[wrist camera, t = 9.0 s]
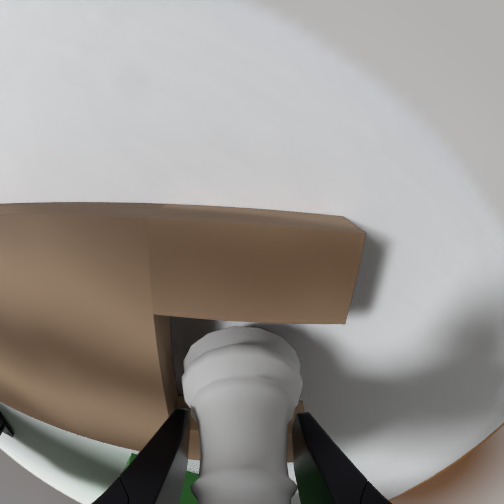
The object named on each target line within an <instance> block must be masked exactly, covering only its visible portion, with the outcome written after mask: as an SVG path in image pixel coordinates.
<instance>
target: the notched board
mask: <svg viewBox="0 0 504 504" xmlns="http://www.w3.org/2000/svg"><path fill="white" fill-rule="evenodd" d="M365 235H366V233H365V232H364V231H362V230H361V229H360V228H358V227H357V226H356V225H354V224H353V223H352V222H350V221H349V220H348V219H346V218H345V217H342V216H333V215H323V214H312V213H301V212H290V211H278V210H265V209H251V208H236V207H219V206H201V205H180V204H153V203H108V202H53V203H12V204H0V402H2V403H4V404H6V405H8V406H10V407H12V408H14V409H16V410H18V411H20V412H22V413H24V414H26V415H29V416H31V417H33V418H35V419H38V420H40V421H42V422H45V423H47V424H50V425H52V426H55V427H58V428H60V429H63V430H66V431H69V432H72V433H75V434H77V435H81V436H84V437H87V438H90V439H93V440H97V441H100V442H104V443H108V444H111V445H115V446H119V447H123V448H128V449H132V450H137V451H141V450H142V449H143V448H144V446H145V445H146V444H147V443H148V442H149V440H150V439H151V438H152V437H153V436H154V434H155V433H156V432H157V431H158V429H159V428H160V427H161V426H162V425H163V423H164V422H165V421H166V420H167V418H168V417H169V416H170V415H171V413H172V412H173V411H174V410H175V409H176V408H185V409H188V410H189V415H190V423H191V428H190V440H189V452H188V459H193V460H200V459H201V457H200V442H199V430H198V425H197V422H196V421H195V420H194V418H193V417H192V416H191V409H190V407H189V406H188V404H187V403H186V402H185V399H184V396H178V394H177V386H176V378H175V370H174V361H173V351H172V340H171V329H170V316H175V317H186V318H197V319H210V320H224V321H241V322H261V323H290V324H345V322H346V319H347V315H348V311H349V307H350V303H351V299H352V295H353V291H354V287H355V283H356V278H357V274H358V270H359V265H360V260H361V255H362V251H363V245H364V240H365ZM301 412H304V407H303V402H302V401H299V402H298V405H297V406H296V407H295V410H294V414H293V417H292V419H291V420H290V421H289V422H288V426H287V457H286V460H287V462H294V461H293V444H292V425H293V422H294V419H295V416H296V414H297V413H301Z"/></svg>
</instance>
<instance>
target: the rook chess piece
mask: <svg viewBox="0 0 504 504" xmlns="http://www.w3.org/2000/svg"><path fill="white" fill-rule="evenodd" d="M300 368H301V365H300V361H299V358H298V355H297V352H296V350H295V349H294V348H293V347H292V346H291V345H290V344H289V343H288V342H287V341H286V340H285V339H283V338H282V337H281V336H279V335H276V334H274V333H271V332H268V331H266V330H263V329H261V328H256V327H236V326H234V327H229V328H226V329H222V330H218V331H214V332H211V333H208V334H207V335H205V336H204V337H202V338H201V339H200V340H198V341H197V342H196V343H194V344H193V345H191V347H190V349H189V351H188V353H187V355H186V357H185V359H184V374H183V376H182V385H183V394H184V399H185V402H186V403H187V404H188V406H189V407H190V409H191V416H192V417H193V418H194V420H195V421H196V422H197V425H198V430H199V442H200V457H201V459H200V469H199V479H198V480H196V481H195V482H194V483H193V484H192V485H191V486H190V488H191V492H192V494H193V495H194V496H195V497H196V499H197V500H198V504H291V498H292V497H293V495H294V494H295V492H296V491H297V489H298V487H297V485H296V484H295V482H294V481H293V480H291V479H290V478H289V475H288V468H287V460H286V457H287V426H288V422H289V421H290V420H291V419H292V417H293V414H294V410H295V407H296V406H297V405H298V402H299V399H300V395H301V392H302V386H303V381H302V378H301V375H300Z"/></svg>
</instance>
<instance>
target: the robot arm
mask: <svg viewBox="0 0 504 504" xmlns="http://www.w3.org/2000/svg"><path fill="white" fill-rule="evenodd" d="M190 428H191V423H190V415H189V410H188V409H185V408H176V409H175V410H174V411H173V412H172V413H171V415H170V416H169V417H168V418H167V420H166V421H165V422H164V423H163V425H162V426H161V427H160V428H159V429H158V431H157V432H156V433H155V434H154V436H153V437H152V438H151V439H150V440H149V442H148V443H147V444H146V445H145V446H144V448H143V449H142V450H141V451H140V452H139V454H138V455H137V456H136V457H135V458H134V459H133V461H132V462H131V463H130V464H129V465H128V467H127V468H126V469H125V470H124V471H123V472H122V473H121V475H120V477H118V478H117V479H116V480H115V481H114V483H113V484H112V485H111V486H110V487H109V488H108V489H107V490H106V491H105V492H104V493H103V494H102V495H101V496H100V497H99V498H98V499H96V500H95V501H94V502H93V503H92V504H179V502H180V497H181V493H182V488H183V483H184V479H185V474H186V470H187V463H188V452H189V440H190ZM2 432H4V433H5V434H7V435H9V436H11V437H13V436H14V432H13V431H12V430H11V428H10V427H9V426H8V424H7V423H6V421H5V420H4V419H3V417H2V416H1V414H0V435H1V433H2ZM292 444H293V461H294V471H295V477H296V482H297V487H298V492H299V497H300V502H301V504H392V503H391V502H390V501H388V500H387V499H386V498H385V497H384V496H383V495H382V494H381V493H380V492H379V491H378V490H377V489H376V488H375V487H374V486H373V485H372V484H371V483H370V482H369V481H367V479H366V478H365V477H364V475H363V474H362V473H361V472H360V471H359V470H358V469H357V468H356V467H355V465H354V464H353V463H352V462H351V461H350V460H349V459H348V458H347V456H346V455H345V454H344V453H343V452H342V451H341V450H340V448H339V447H338V446H337V445H336V444H335V443H334V441H333V440H332V439H331V438H330V437H329V436H328V434H327V433H326V432H325V431H324V430H323V429H322V427H321V426H320V425H319V424H318V423H317V421H316V420H315V419H314V418H313V417H312V415H311V414H310V413H308V412H301V413H297V414H296V416H295V419H294V422H293V425H292Z"/></svg>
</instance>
